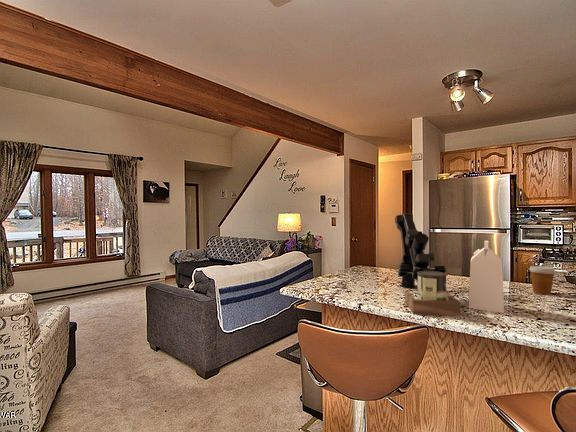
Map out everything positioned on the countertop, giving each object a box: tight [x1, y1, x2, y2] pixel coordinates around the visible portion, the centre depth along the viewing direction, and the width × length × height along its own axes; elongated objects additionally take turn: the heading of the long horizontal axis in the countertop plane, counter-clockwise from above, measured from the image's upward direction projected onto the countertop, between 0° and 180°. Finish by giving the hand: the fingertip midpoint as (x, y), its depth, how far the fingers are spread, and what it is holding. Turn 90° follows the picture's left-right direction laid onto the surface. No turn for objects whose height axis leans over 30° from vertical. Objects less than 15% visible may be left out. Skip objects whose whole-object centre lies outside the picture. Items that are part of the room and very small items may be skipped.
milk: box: [468, 240, 505, 314], centre depth 128 cm, size 12×12×26 cm
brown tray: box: [404, 290, 461, 317], centre depth 125 cm, size 14×16×5 cm
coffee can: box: [417, 271, 447, 300], centre depth 125 cm, size 10×10×14 cm
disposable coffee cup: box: [528, 265, 557, 296], centre depth 148 cm, size 10×10×12 cm
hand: (425, 288), depth 133 cm, fingers closed
